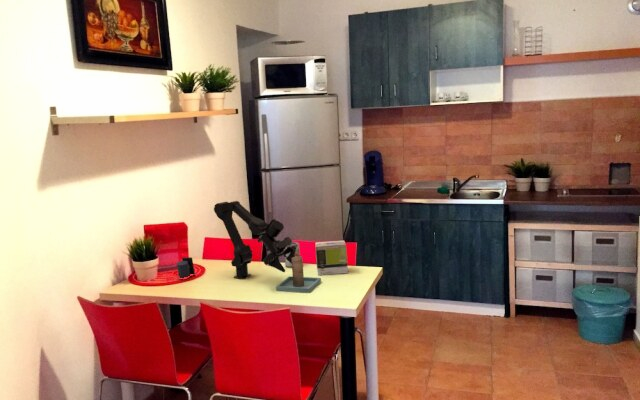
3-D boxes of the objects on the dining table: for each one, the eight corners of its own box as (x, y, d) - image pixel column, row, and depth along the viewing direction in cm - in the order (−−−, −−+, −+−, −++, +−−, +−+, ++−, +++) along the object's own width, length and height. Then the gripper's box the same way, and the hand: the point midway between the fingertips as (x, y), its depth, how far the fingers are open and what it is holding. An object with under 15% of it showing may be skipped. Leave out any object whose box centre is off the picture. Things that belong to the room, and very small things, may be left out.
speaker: (187, 274, 281) (184, 255, 278) (195, 276, 278) (192, 257, 275) (176, 280, 275) (173, 260, 272) (184, 282, 272) (181, 262, 269)
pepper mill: (292, 284, 254) (290, 257, 252) (303, 283, 255) (301, 255, 253) (294, 287, 249) (292, 259, 247) (305, 286, 250) (303, 258, 248)
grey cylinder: (298, 268, 282) (296, 245, 280) (282, 268, 284) (281, 245, 282) (302, 263, 291) (301, 241, 289) (287, 263, 293) (285, 241, 291)
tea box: (346, 268, 278) (345, 239, 276) (348, 273, 268) (346, 244, 266) (316, 270, 278) (315, 241, 275) (317, 275, 268) (315, 246, 265)
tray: (289, 280, 262) (289, 276, 262) (321, 282, 257) (320, 277, 257) (275, 290, 247) (275, 286, 247) (309, 292, 242) (308, 288, 242)
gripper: (266, 236, 246) (287, 263, 242) (292, 228, 261) (312, 253, 257) (254, 252, 252) (274, 278, 247) (280, 243, 267) (299, 267, 262)
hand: (290, 269), depth 253 cm, fingers open, 9 cm apart
